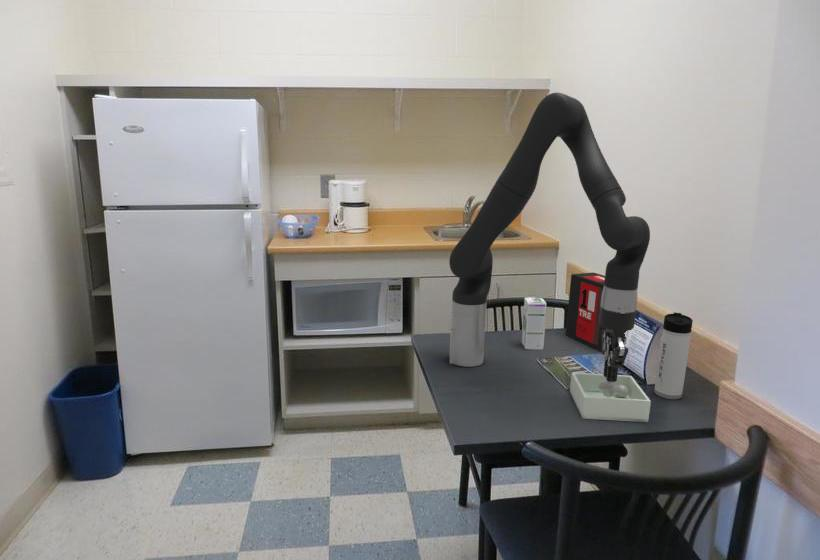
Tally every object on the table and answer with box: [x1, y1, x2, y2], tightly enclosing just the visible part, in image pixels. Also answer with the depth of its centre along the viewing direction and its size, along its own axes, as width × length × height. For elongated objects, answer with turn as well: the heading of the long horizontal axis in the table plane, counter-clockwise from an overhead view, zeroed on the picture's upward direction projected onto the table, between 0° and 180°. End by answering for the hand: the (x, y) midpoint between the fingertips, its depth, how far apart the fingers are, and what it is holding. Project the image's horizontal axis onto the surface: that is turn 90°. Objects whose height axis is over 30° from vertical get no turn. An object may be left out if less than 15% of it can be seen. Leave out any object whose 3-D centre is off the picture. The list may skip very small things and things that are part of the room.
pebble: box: [615, 385, 628, 398], centre depth 138 cm, size 3×3×3 cm
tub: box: [569, 372, 652, 423], centre depth 134 cm, size 14×14×5 cm
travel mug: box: [653, 312, 694, 400], centre depth 140 cm, size 6×7×20 cm
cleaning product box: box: [565, 272, 606, 354], centre depth 176 cm, size 16×9×20 cm, turn 24°
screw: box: [598, 351, 620, 397], centre depth 132 cm, size 13×5×5 cm
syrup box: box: [521, 296, 547, 351], centre depth 171 cm, size 6×6×14 cm
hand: (609, 378), depth 133 cm, fingers closed on screw, 2 cm apart
